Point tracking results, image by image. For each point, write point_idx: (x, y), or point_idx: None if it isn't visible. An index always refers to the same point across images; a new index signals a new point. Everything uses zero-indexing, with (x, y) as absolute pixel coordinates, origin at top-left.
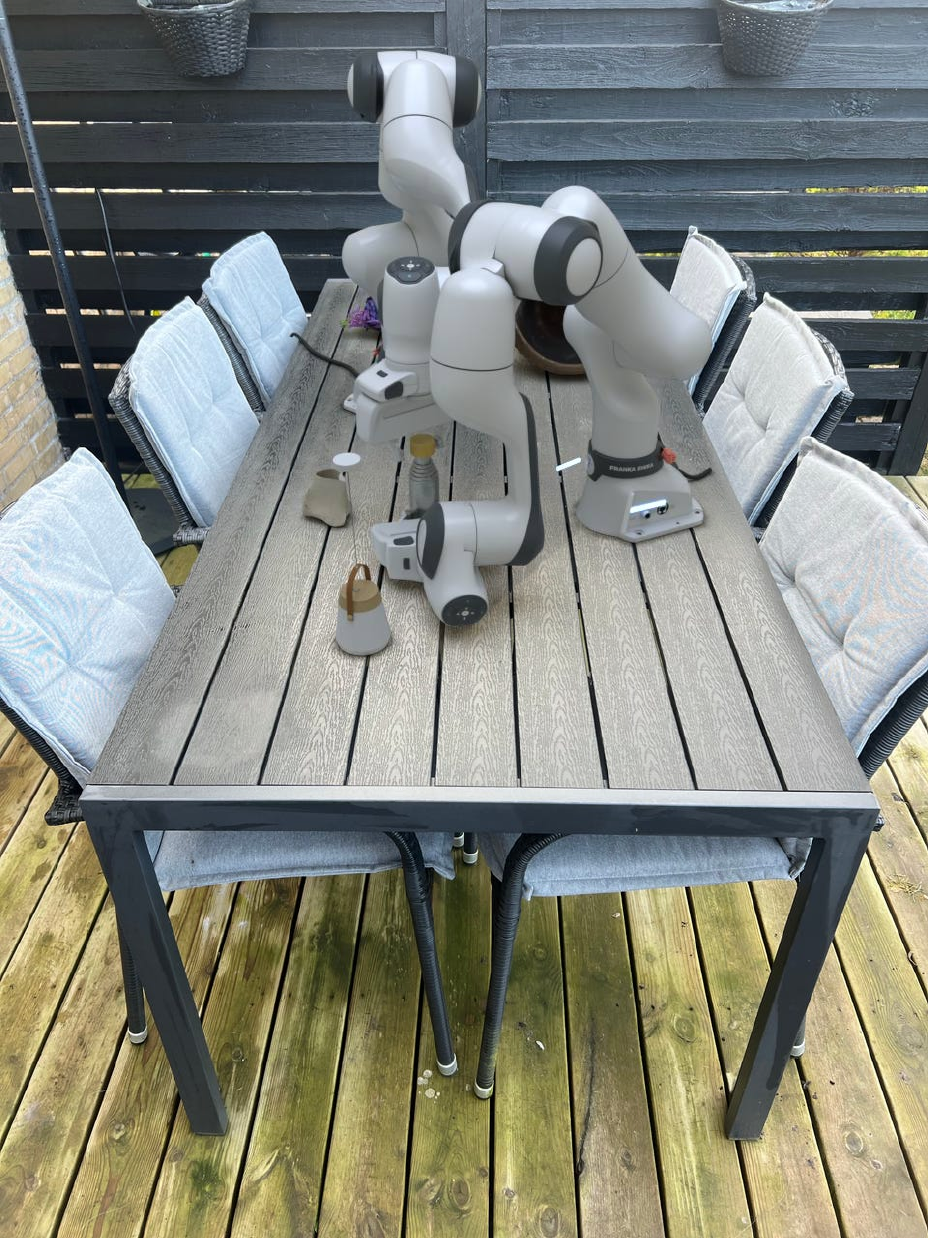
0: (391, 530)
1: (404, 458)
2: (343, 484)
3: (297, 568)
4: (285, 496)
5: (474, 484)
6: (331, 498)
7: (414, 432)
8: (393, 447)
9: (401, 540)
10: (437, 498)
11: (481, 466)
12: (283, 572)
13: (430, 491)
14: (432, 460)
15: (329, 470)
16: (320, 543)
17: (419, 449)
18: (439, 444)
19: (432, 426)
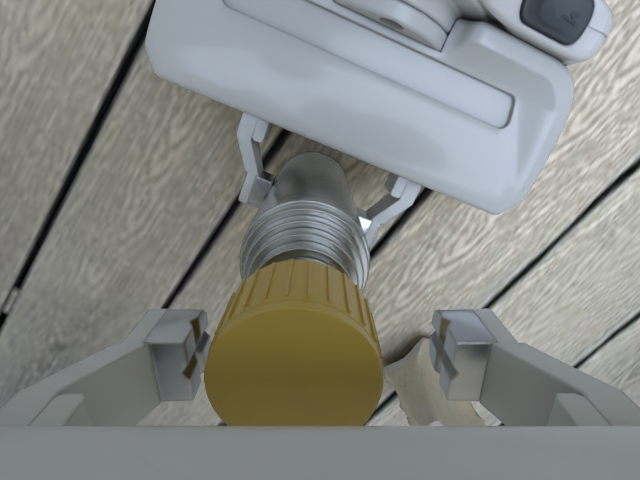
0: (487, 148)
1: (443, 312)
2: (438, 415)
3: (591, 262)
4: None
5: (89, 321)
6: (444, 401)
7: (433, 428)
8: (582, 378)
9: (559, 16)
10: (283, 183)
11: (42, 369)
12: (620, 266)
13: (314, 188)
14: None
15: None
16: (494, 312)
17: (358, 310)
18: (183, 322)
19: (201, 430)
